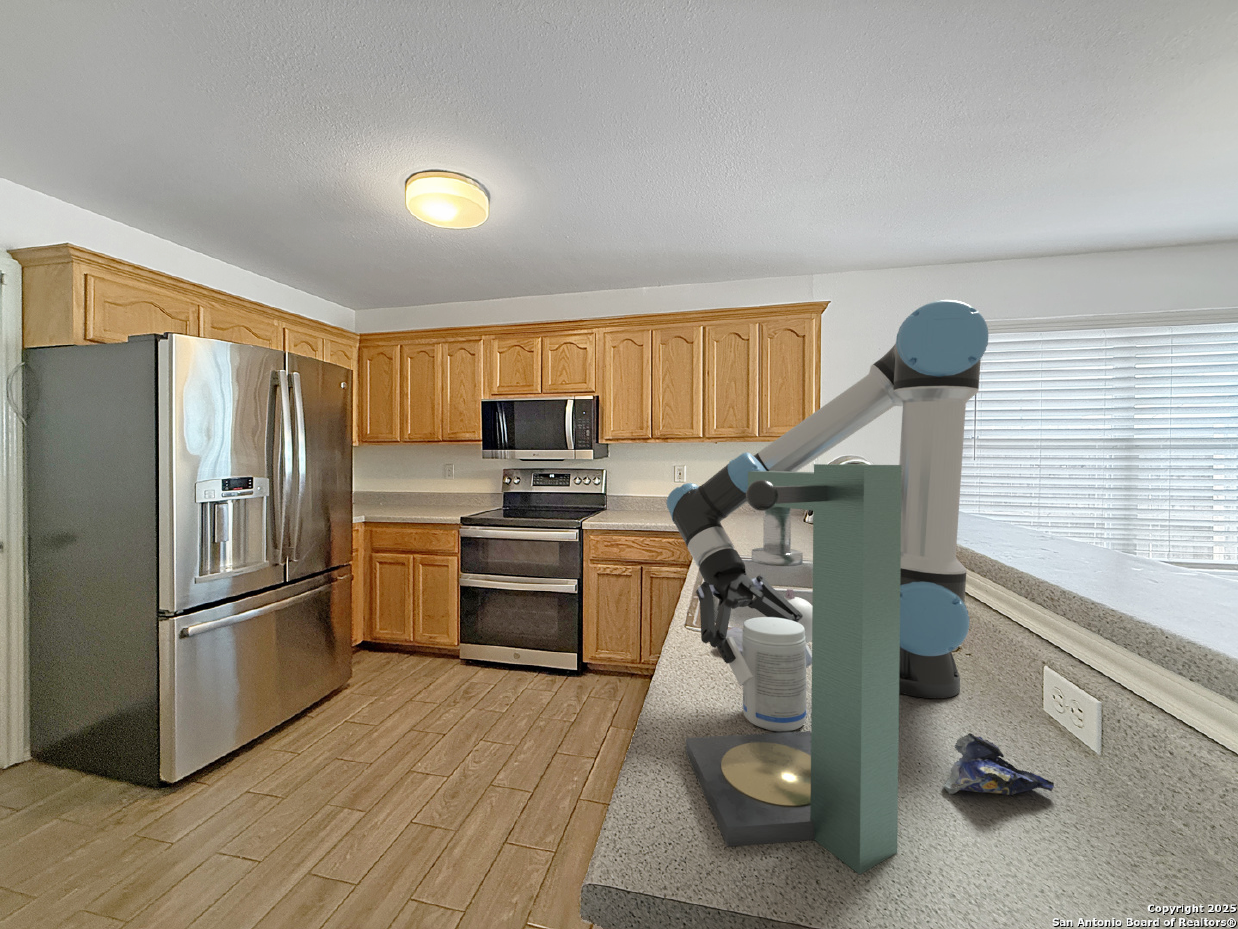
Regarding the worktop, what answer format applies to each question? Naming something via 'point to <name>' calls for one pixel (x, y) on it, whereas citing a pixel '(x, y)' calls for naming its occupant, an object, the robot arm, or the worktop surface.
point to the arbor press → (826, 677)
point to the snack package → (989, 770)
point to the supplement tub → (775, 673)
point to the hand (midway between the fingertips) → (779, 673)
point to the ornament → (802, 612)
